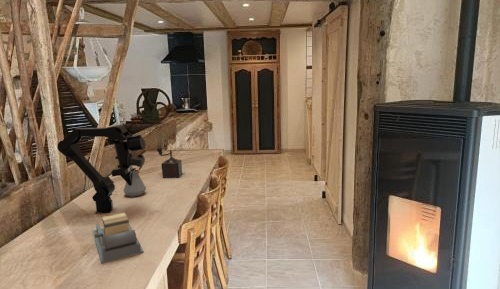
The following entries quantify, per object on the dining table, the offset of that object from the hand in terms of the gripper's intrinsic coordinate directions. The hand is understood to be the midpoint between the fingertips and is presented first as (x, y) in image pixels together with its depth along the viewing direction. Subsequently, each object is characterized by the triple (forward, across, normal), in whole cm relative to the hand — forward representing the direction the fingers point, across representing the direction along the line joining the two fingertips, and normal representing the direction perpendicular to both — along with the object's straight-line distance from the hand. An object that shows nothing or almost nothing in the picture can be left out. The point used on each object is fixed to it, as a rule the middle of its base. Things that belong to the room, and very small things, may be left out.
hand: (130, 185), depth 164 cm
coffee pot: (+11, +28, +10) cm, 32 cm away
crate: (+13, -34, -6) cm, 37 cm away
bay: (+13, -32, -4) cm, 35 cm away
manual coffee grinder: (+12, +58, +2) cm, 60 cm away
